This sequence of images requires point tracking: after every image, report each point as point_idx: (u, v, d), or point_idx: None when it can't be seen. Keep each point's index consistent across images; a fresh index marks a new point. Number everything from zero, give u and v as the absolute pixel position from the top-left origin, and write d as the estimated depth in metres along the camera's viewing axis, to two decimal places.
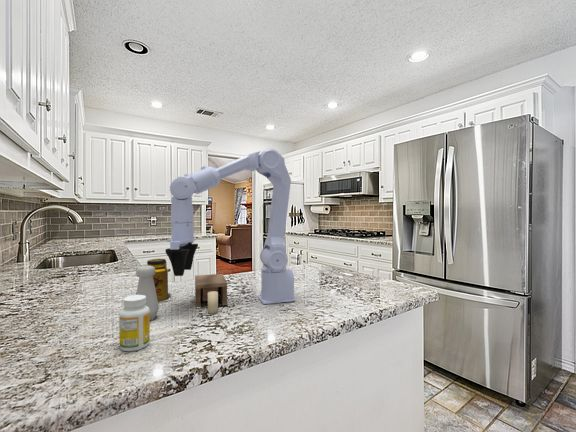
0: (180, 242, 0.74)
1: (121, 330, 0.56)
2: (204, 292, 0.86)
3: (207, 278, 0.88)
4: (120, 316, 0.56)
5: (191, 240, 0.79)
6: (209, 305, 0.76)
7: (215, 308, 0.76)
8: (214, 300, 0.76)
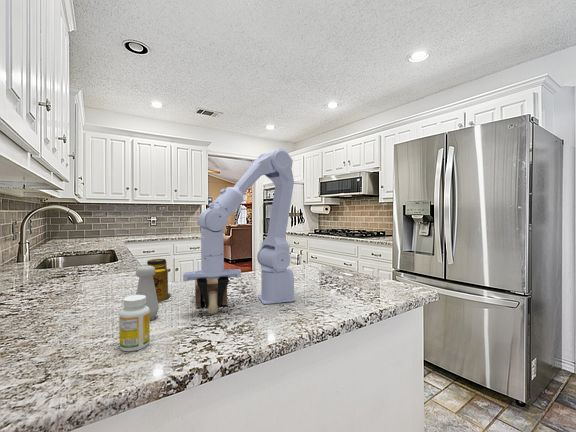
0: (188, 275, 0.74)
1: (121, 330, 0.56)
2: None
3: None
4: (120, 316, 0.56)
5: (207, 275, 0.74)
6: (209, 305, 0.76)
7: (215, 308, 0.76)
8: (214, 300, 0.76)
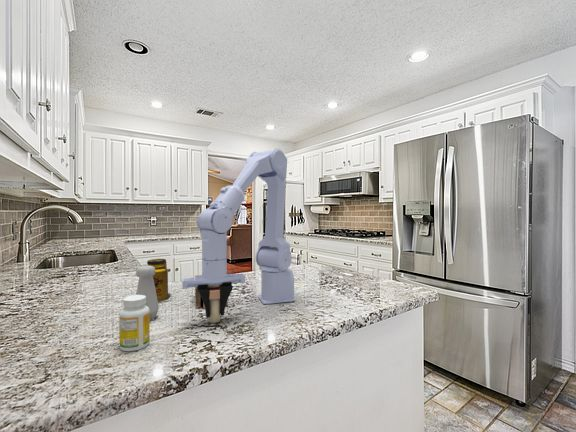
0: (188, 281, 0.67)
1: (121, 330, 0.56)
2: None
3: None
4: (120, 316, 0.56)
5: (210, 281, 0.67)
6: (211, 313, 0.70)
7: (217, 317, 0.70)
8: (216, 308, 0.70)
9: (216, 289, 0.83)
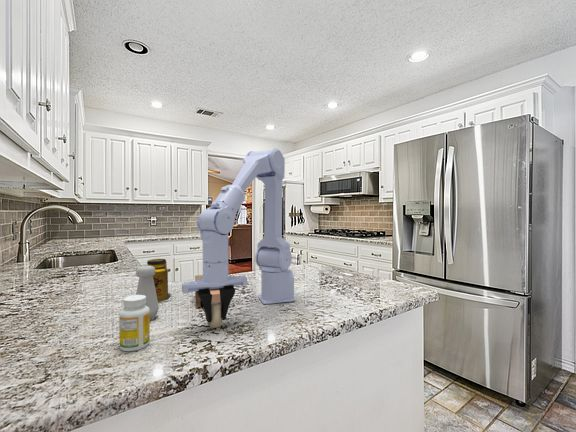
0: (190, 285, 0.64)
1: (121, 330, 0.56)
2: None
3: None
4: (120, 316, 0.56)
5: (212, 284, 0.64)
6: None
7: (218, 321, 0.67)
8: (217, 312, 0.67)
9: (217, 292, 0.80)
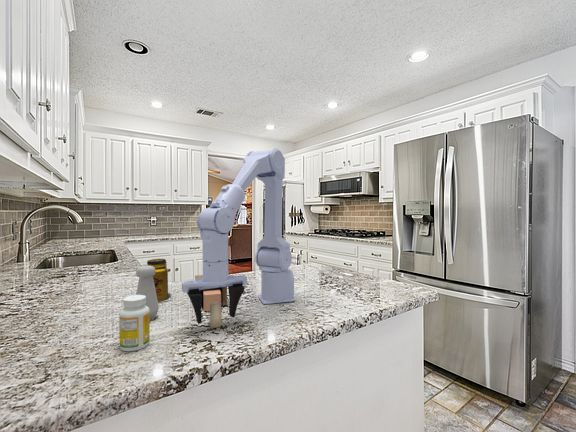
0: (189, 285, 0.64)
1: (121, 330, 0.56)
2: (206, 302, 0.77)
3: None
4: (120, 316, 0.56)
5: (212, 284, 0.64)
6: (211, 318, 0.67)
7: (218, 321, 0.67)
8: (217, 312, 0.67)
9: (217, 292, 0.80)
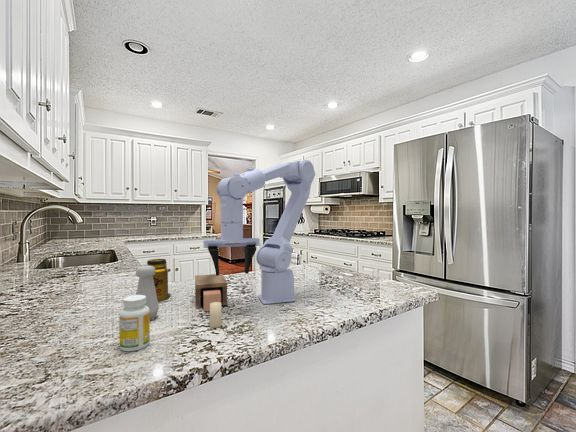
0: (209, 241, 0.75)
1: (121, 330, 0.56)
2: (206, 302, 0.77)
3: (207, 278, 0.88)
4: (120, 316, 0.56)
5: (227, 241, 0.75)
6: (211, 318, 0.67)
7: (218, 321, 0.67)
8: (217, 312, 0.67)
9: (217, 292, 0.80)
